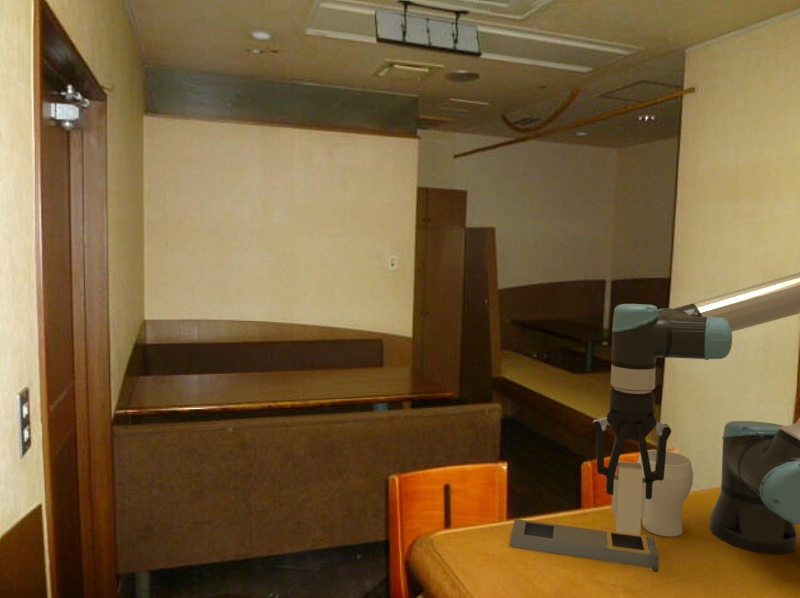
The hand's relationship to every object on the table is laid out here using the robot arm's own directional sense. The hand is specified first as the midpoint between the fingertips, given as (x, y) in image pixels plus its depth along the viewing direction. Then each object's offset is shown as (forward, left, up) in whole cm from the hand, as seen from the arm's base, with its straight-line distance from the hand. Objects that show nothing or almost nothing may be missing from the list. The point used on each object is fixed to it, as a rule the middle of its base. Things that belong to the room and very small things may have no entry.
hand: (628, 512), depth 108 cm
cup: (-8, -15, -9) cm, 19 cm away
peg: (0, 0, -3) cm, 3 cm away
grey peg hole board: (+8, 0, -9) cm, 12 cm away
